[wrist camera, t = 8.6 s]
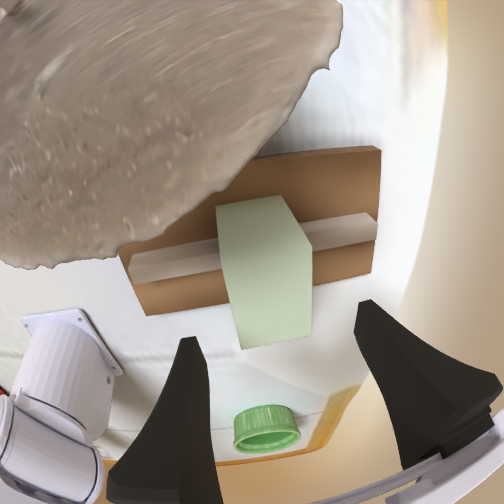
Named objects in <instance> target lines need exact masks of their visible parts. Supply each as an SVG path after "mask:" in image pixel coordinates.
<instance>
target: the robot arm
mask: <svg viewBox="0 0 504 504" xmlns="http://www.w3.org/2000/svg"><path fill="white" fill-rule="evenodd" d="M81 318H82V319H81ZM20 320H21V323H22V324H23V325H24V327H25V328H26V330H27V331H28V332H29V334H30V335H31V336H32V338H31V340H30V342H29V345H28V347H27V349H26V352H25V354H24V357H23V359H22V362H21V365H20V367H19V370H18V373H17V376H16V378H15V381H14V384H13V387H12V390H11V393H10V396H9V397H8V396H6V395H1V396H0V471H1V472H0V504H93V503H94V502H95V500H96V499H97V498H98V496H99V495H100V493H101V491H102V489H103V486H104V481H105V469H104V464H103V460H102V457H101V454H100V452H99V451H98V450H97V448H95V447H94V446H93V441H95V440H97V439H98V438H99V437H100V436H101V435H102V434H103V433H104V431H105V430H106V428H107V425H108V422H109V416H110V408H111V401H112V394H113V387H114V381H115V376H122V375H123V370H122V369H121V368H120V366H119V365H118V363H117V362H116V361H115V359H114V358H113V357H112V355H111V354H110V352H109V351H108V349H107V348H106V346H105V345H104V344H103V342H102V341H101V339H100V338H99V336H98V335H97V333H96V332H95V330H94V328H93V327H92V325H91V324H90V322H89V321H88V319H87V317H86V316H85V314H84V312H83V311H82V310H80V309H72V310H65V311H57V312H50V313H42V314H35V315H27V316H22V317H21V319H20ZM354 335H355V337H356V340H357V343H358V346H359V348H360V351H361V353H362V355H363V357H364V359H365V361H366V363H367V365H368V367H369V369H370V371H371V373H372V374H373V376H374V378H375V380H376V382H377V384H378V386H379V388H380V391H381V393H382V395H383V398H384V401H385V403H386V406H387V409H388V412H389V415H390V419H391V422H392V425H393V428H394V432H395V437H396V440H397V445H398V450H399V455H400V460H401V465H402V468H403V471H402V472H400V473H397V474H395V475H393V476H390V477H388V478H385V479H383V480H381V481H378V482H375V483H373V484H370V485H368V486H365V487H362V488H359V489H356V490H353V491H350V492H347V493H344V494H342V495H338V496H334V497H331V498H328V499H324V500H320V501H316V502H312V503H308V504H357V503H360V502H363V501H366V500H369V499H371V498H374V497H376V496H379V495H381V494H384V493H386V492H389V491H391V490H393V489H395V488H398V487H400V486H402V485H404V484H407V483H408V482H410V481H413V480H415V479H417V478H418V479H417V480H416V483H415V484H414V485H412V486H410V487H408V488H406V489H404V490H402V491H400V492H398V493H396V494H394V495H392V496H389V497H388V498H386V499H385V501H386V504H453V503H454V502H456V501H457V500H459V499H460V498H462V497H463V496H464V495H466V494H467V493H468V492H470V491H471V490H472V489H474V488H475V487H476V486H477V485H479V484H480V483H481V482H482V481H484V479H486V478H487V477H488V476H490V475H491V474H492V473H493V472H494V471H495V470H496V469H497V468H499V467H500V466H501V465H502V464H503V463H504V408H503V409H501V410H500V411H499V412H497V413H496V414H495V415H494V416H492V417H490V414H489V413H490V412H491V408H490V407H489V405H490V404H491V403H492V402H493V401H494V400H495V399H496V398H497V397H498V396H499V394H500V393H501V392H502V390H503V386H502V384H501V383H500V381H499V380H498V378H497V377H496V375H495V374H493V373H490V372H487V371H483V370H480V369H477V368H474V367H472V366H469V365H467V364H464V363H462V362H460V361H457V360H456V359H454V358H451V357H450V356H447V355H445V354H444V353H442V352H440V351H438V350H437V349H435V348H434V347H432V346H430V345H429V344H427V343H426V342H424V341H422V340H421V339H420V338H418V337H417V336H416V335H414V334H413V333H411V332H410V331H409V330H408V329H406V328H405V327H404V326H403V325H401V324H400V323H399V322H398V321H396V320H395V319H394V318H393V317H392V316H390V315H389V314H388V313H387V312H386V311H384V310H383V309H382V308H381V307H380V306H378V305H377V304H376V303H375V302H374V301H372V300H371V299H370V300H366V301H362V302H359V305H358V311H357V317H356V322H355V328H354ZM2 472H3V473H2ZM4 473H5V474H4ZM6 474H7V475H6ZM8 475H9V476H8ZM10 476H11V477H10ZM12 477H13V478H12ZM14 478H15V479H14ZM16 479H17V480H16ZM18 480H19V481H18ZM20 481H21V482H20ZM22 482H23V483H22ZM24 483H25V484H24ZM29 485H30V486H29ZM31 486H32V487H31ZM33 487H34V488H33ZM38 489H39V490H38ZM40 490H41V491H40ZM43 491H44V492H43ZM106 499H107V500H108V501H109V502H112V503H114V504H223V499H222V495H221V491H220V486H219V481H218V477H217V471H216V466H215V460H214V454H213V448H212V441H211V432H210V388H209V377H208V369H207V363H206V360H205V358H204V356H203V353H202V351H201V348H200V346H199V343H198V341H197V338H196V336H193V337H187V338H182V339H181V340H180V343H179V346H178V350H177V353H176V356H175V359H174V362H173V365H172V368H171V370H170V373H169V376H168V378H167V381H166V383H165V386H164V388H163V390H162V392H161V395H160V397H159V399H158V401H157V403H156V405H155V407H154V409H153V411H152V413H151V415H150V416H149V418H148V420H147V422H146V423H145V425H144V427H143V428H142V430H141V431H140V433H139V434H138V436H137V437H136V439H135V440H134V441H133V443H132V444H131V446H130V447H129V448H128V450H127V451H126V452H125V453H124V455H123V456H122V457H121V458H120V459H119V460H118V462H117V463H116V464H115V465H114V466H113V467H112V468H111V469H110V470H109V472H108V478H107V491H106Z"/></svg>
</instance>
